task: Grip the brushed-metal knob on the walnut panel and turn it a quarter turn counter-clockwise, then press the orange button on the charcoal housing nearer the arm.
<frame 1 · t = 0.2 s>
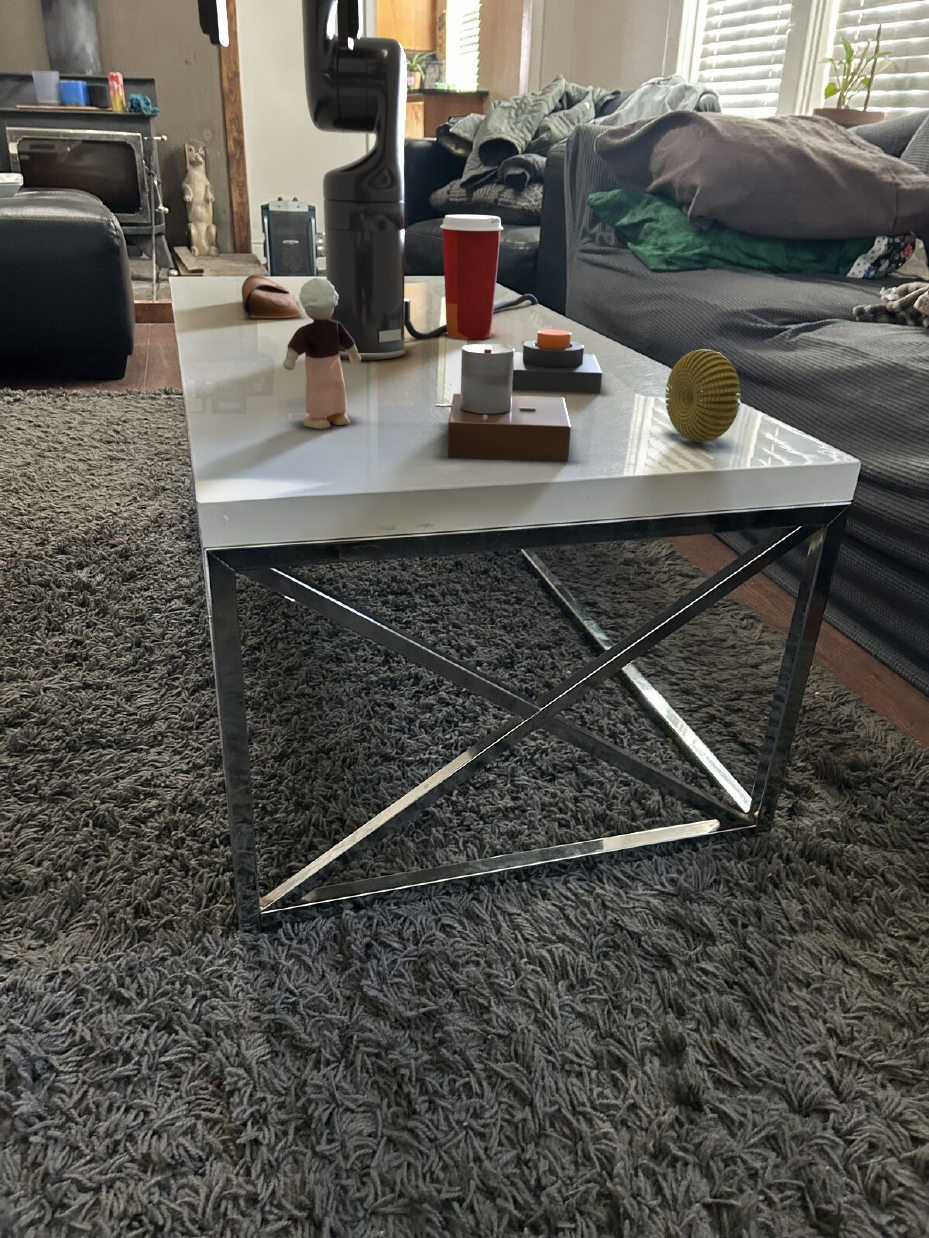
hand: (282, 47, 64), 29 cm above the table, tool pointing down, fingers open, 8 cm apart
coffee cup: (468, 336, 130), on the table
grandmother figurine: (323, 426, 87), on the table
button box: (551, 381, 106), on the table
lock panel: (507, 443, 84), on the table
lock knob: (487, 376, 81), point 6 cm above the table, hinge at 0.0°
sunglasses case: (271, 310, 145), on the table
sculpture: (695, 442, 86), on the table
start button: (553, 340, 104), point 4 cm above the table, slide at 0.1 cm
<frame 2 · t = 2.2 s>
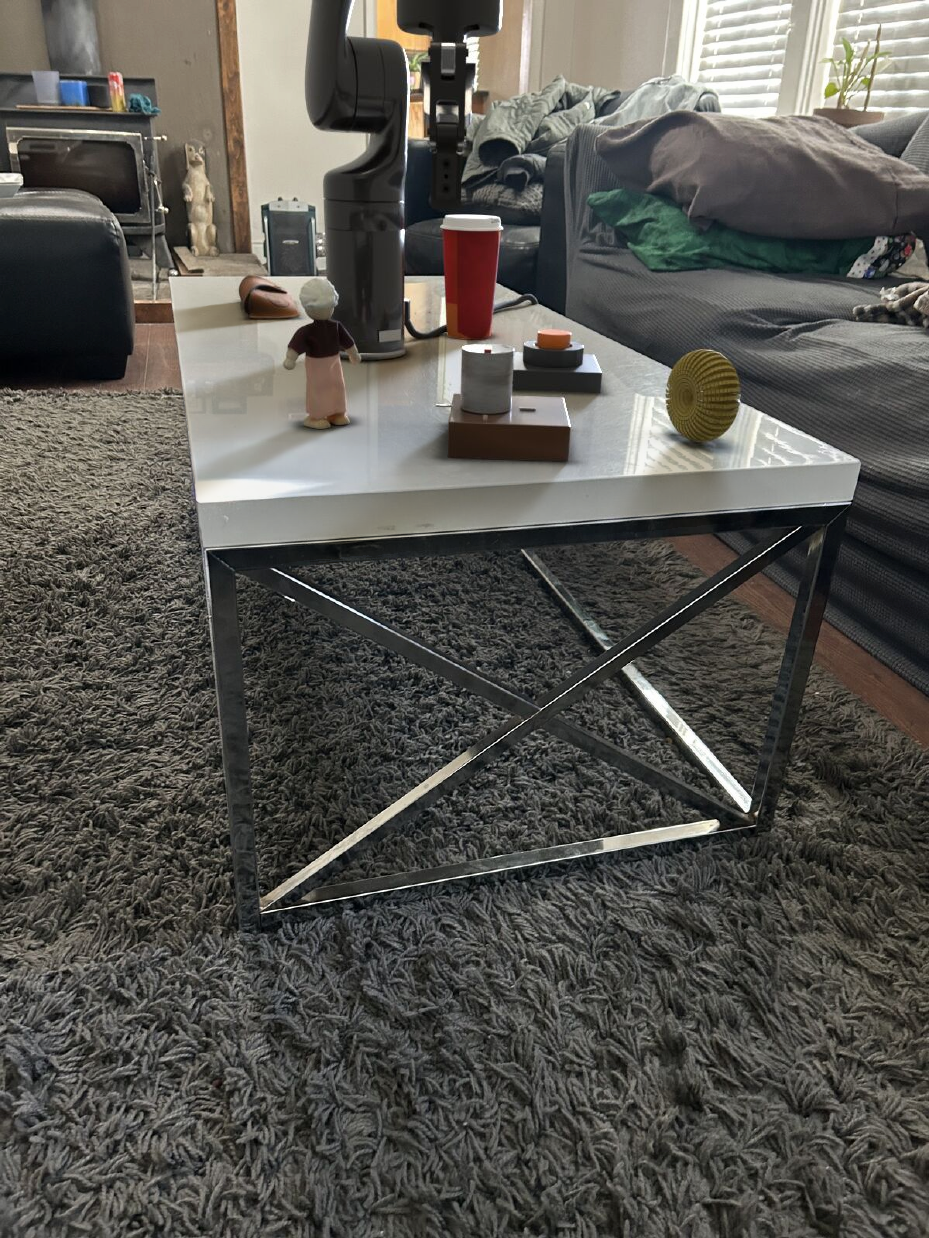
hand: (446, 206, 74), 19 cm above the table, tool pointing down, fingers open, 8 cm apart
nothing on the table moved.
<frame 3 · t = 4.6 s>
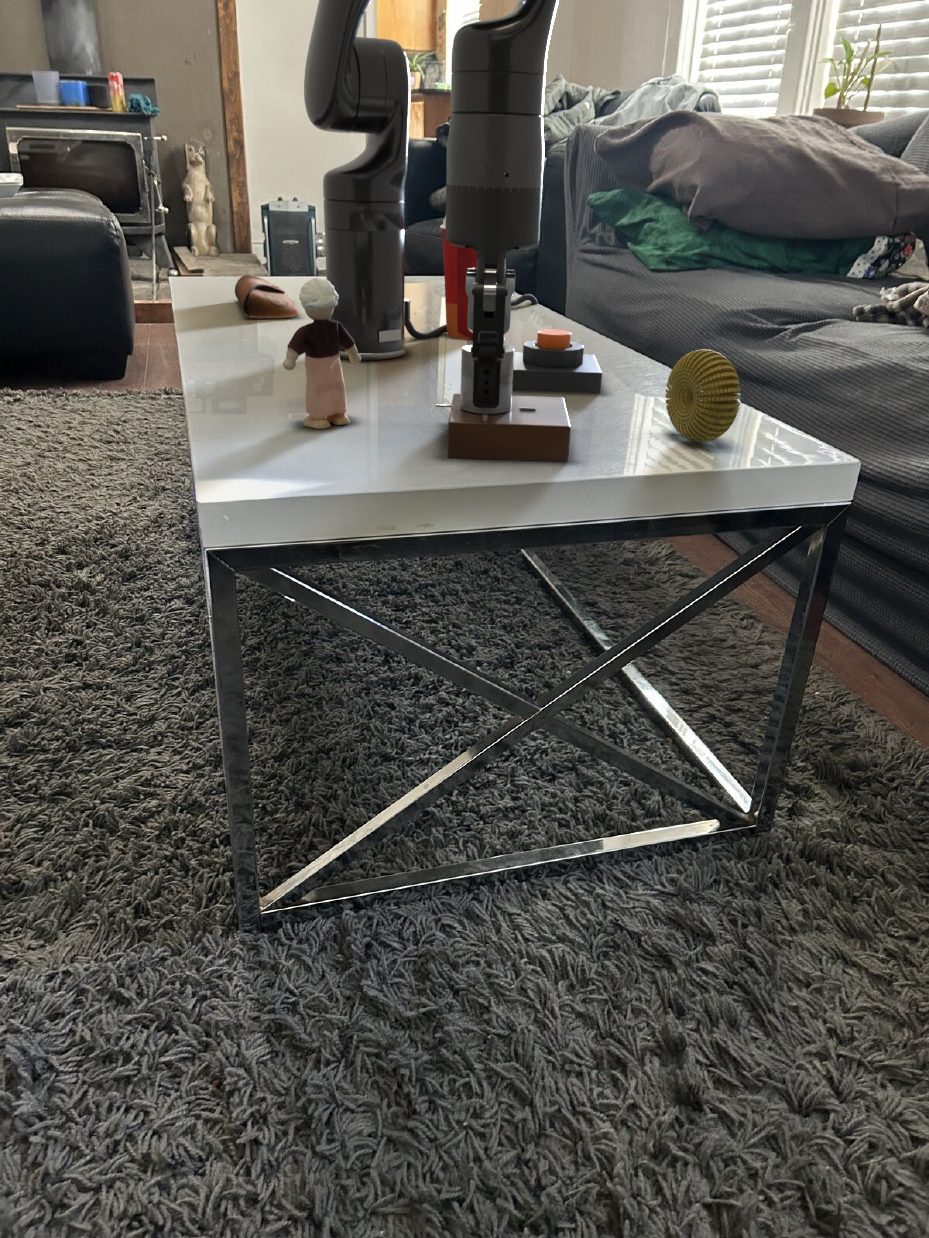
hand: (486, 398, 82), 4 cm above the table, tool pointing down, fingers closed on lock knob, 4 cm apart
lock knob: (487, 376, 81), point 6 cm above the table, hinge at 0.0°, touching gripper
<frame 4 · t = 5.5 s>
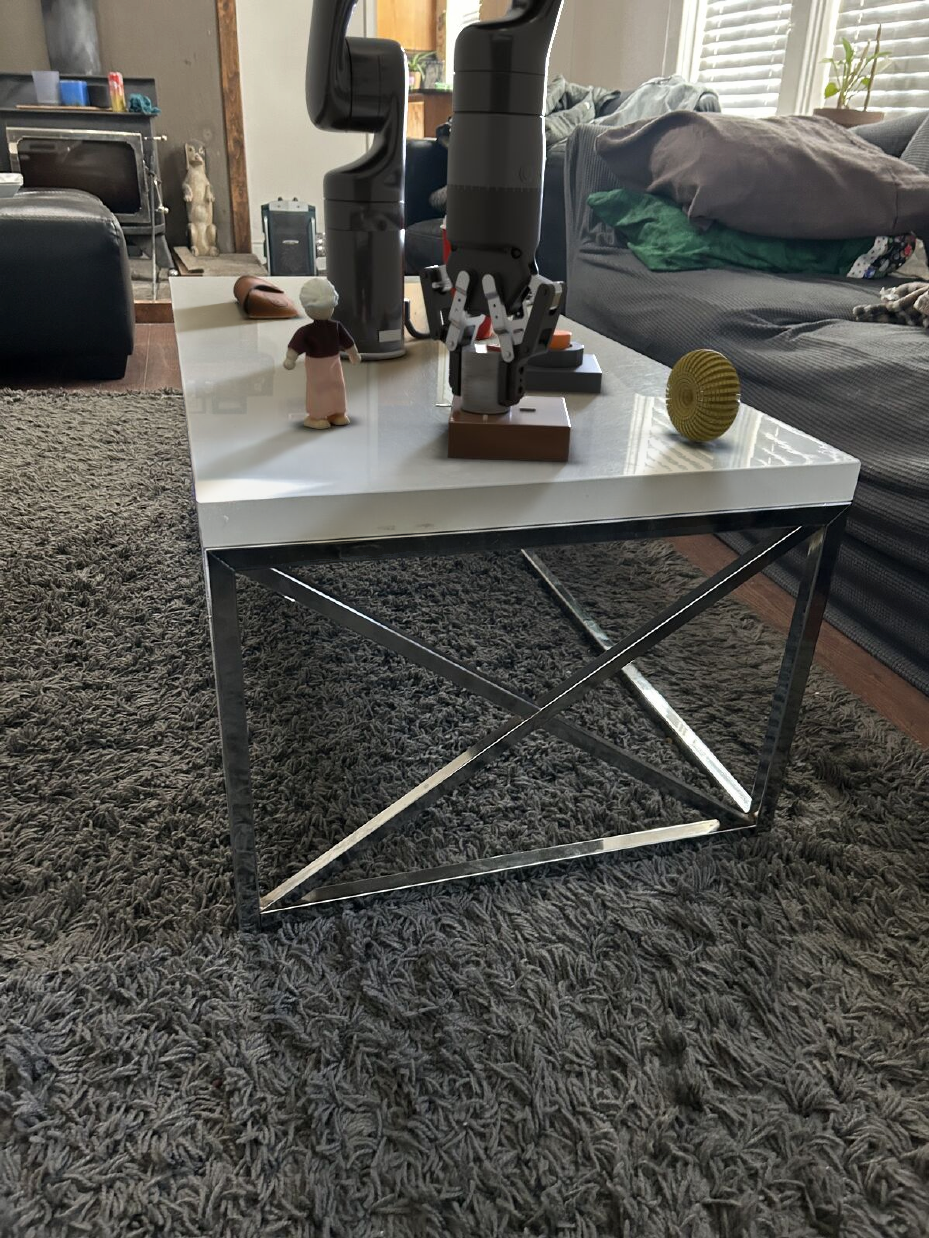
hand: (485, 398, 82), 4 cm above the table, tool pointing down, fingers closed on lock knob, 4 cm apart
lock knob: (487, 376, 81), point 6 cm above the table, hinge at 54.0°, touching gripper
everything else where it was.
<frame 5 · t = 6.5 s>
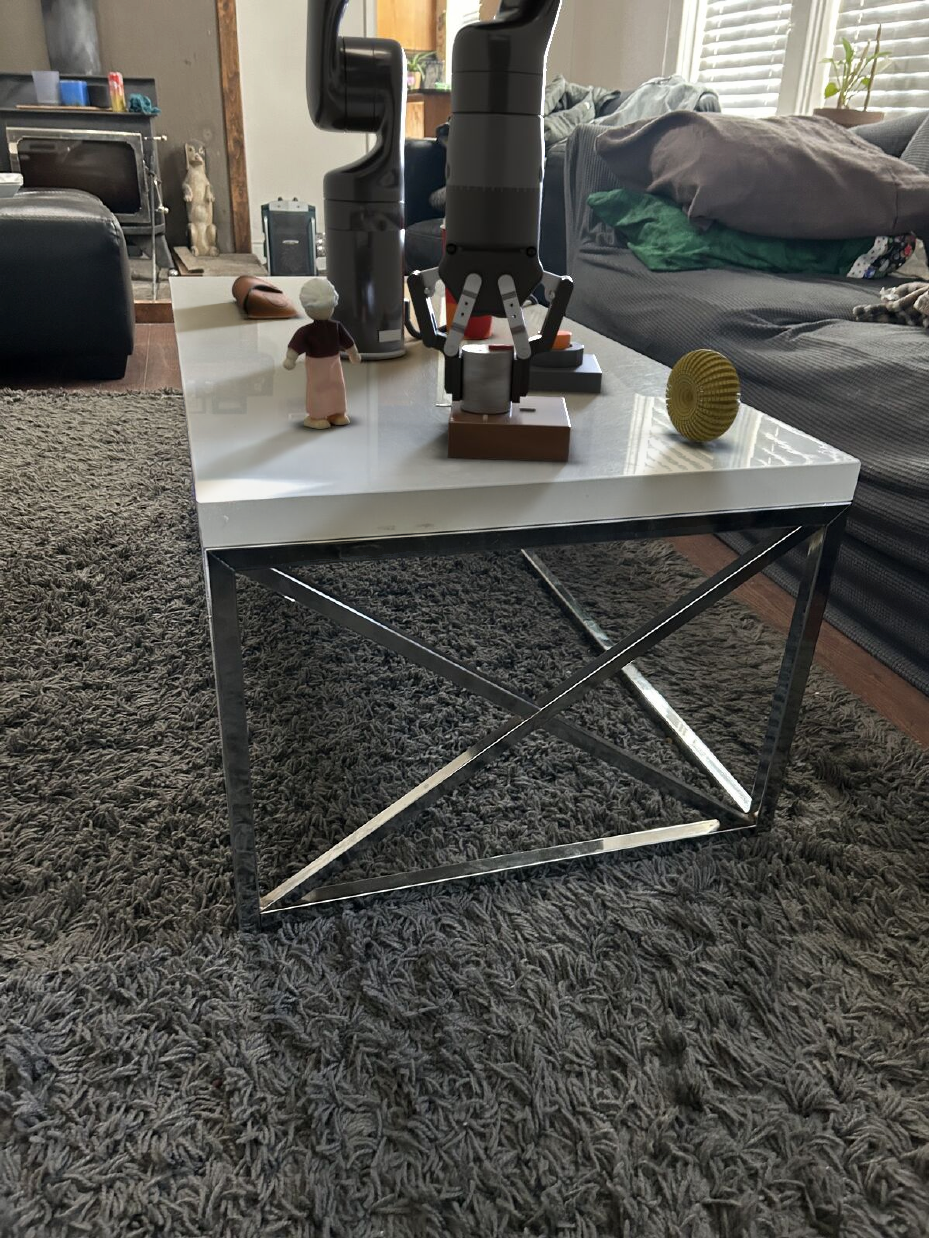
hand: (485, 399, 82), 4 cm above the table, tool pointing down, fingers closed on lock knob, 4 cm apart
lock knob: (487, 376, 81), point 6 cm above the table, hinge at 92.8°, touching gripper
everything else where it was.
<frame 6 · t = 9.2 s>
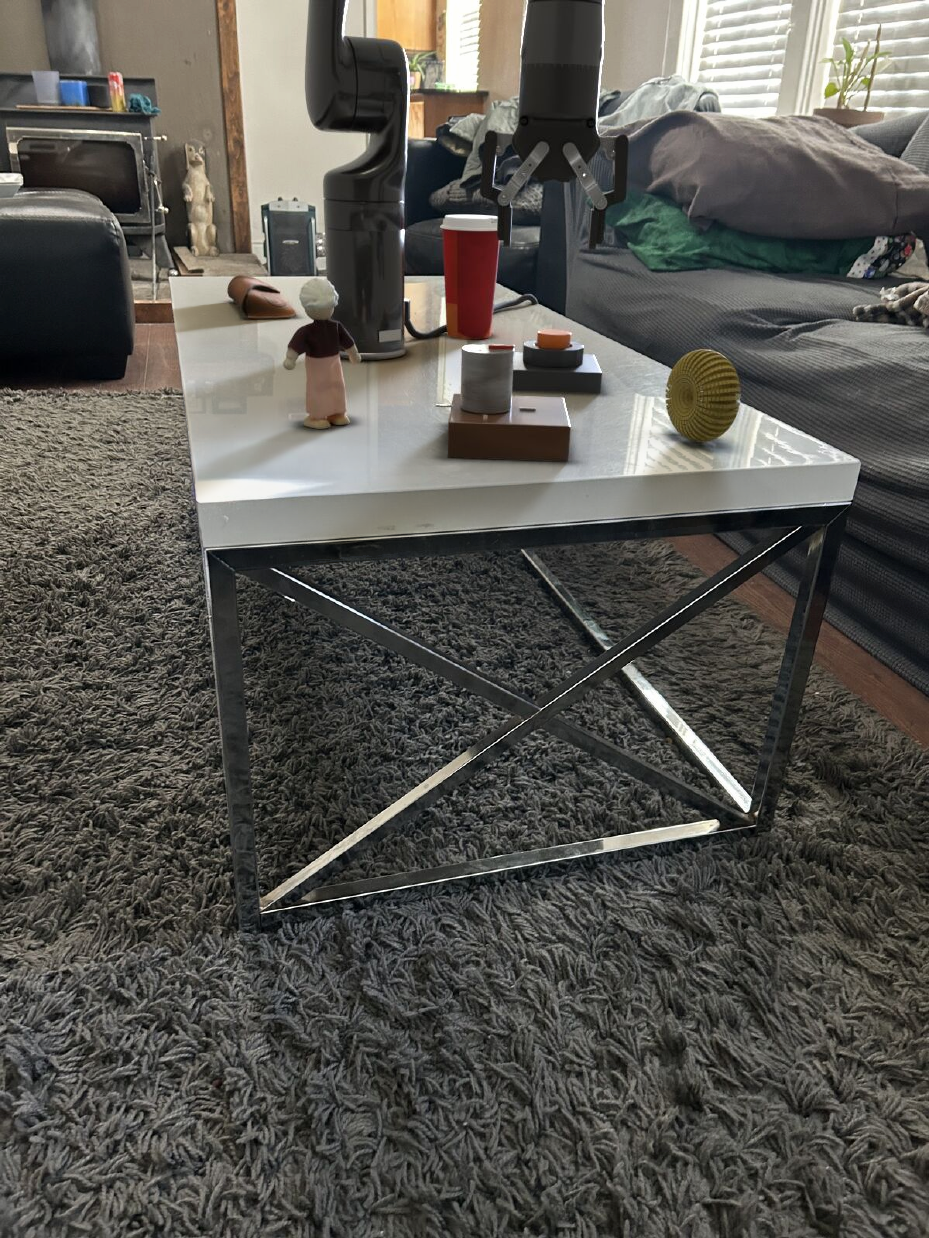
hand: (548, 248, 96), 14 cm above the table, tool pointing down, fingers open, 8 cm apart
lock knob: (487, 376, 81), point 6 cm above the table, hinge at 92.5°
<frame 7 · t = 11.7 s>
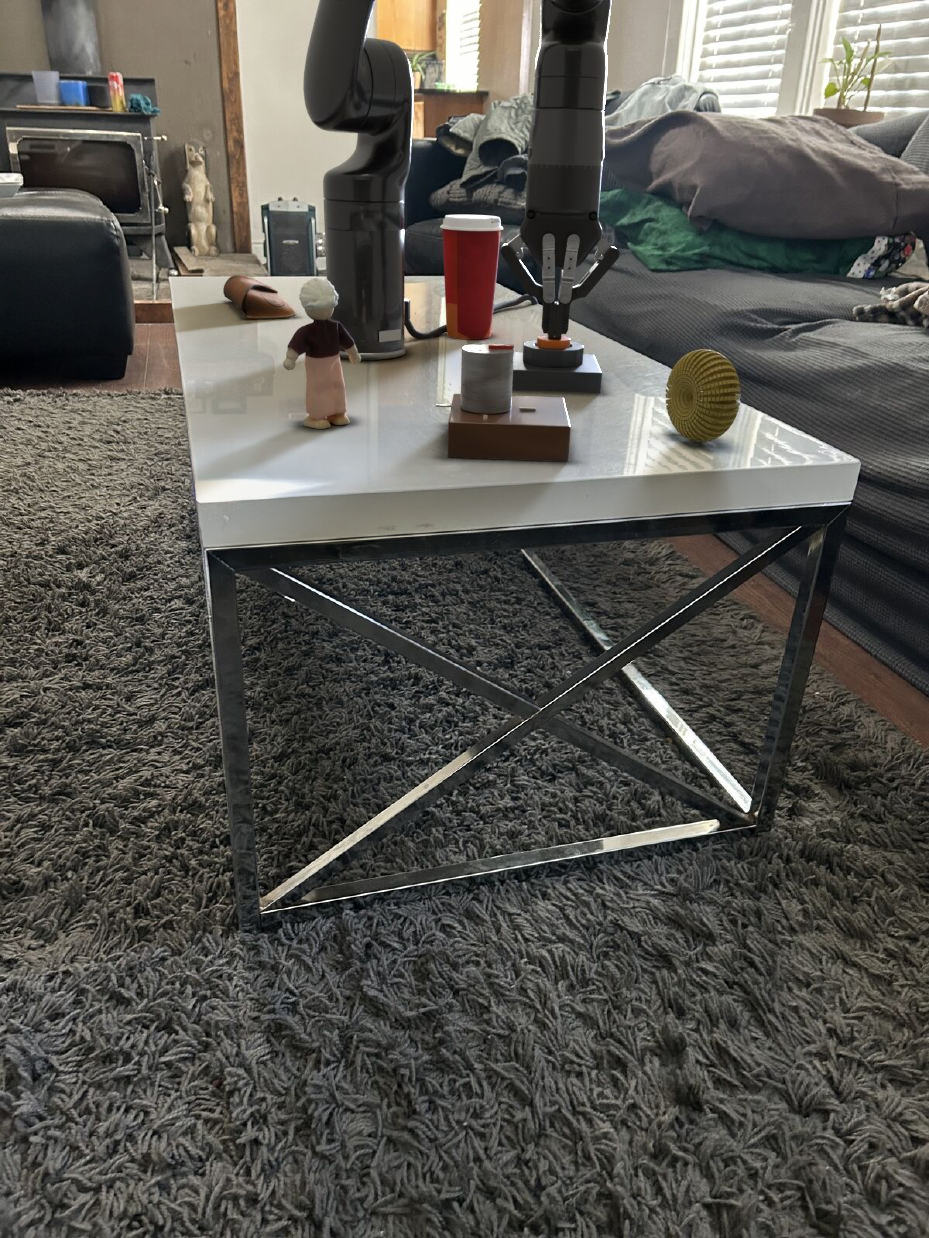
hand: (553, 338, 103), 5 cm above the table, tool pointing down, fingers closed
start button: (553, 346, 104), point 4 cm above the table, slide at -0.5 cm, touching gripper
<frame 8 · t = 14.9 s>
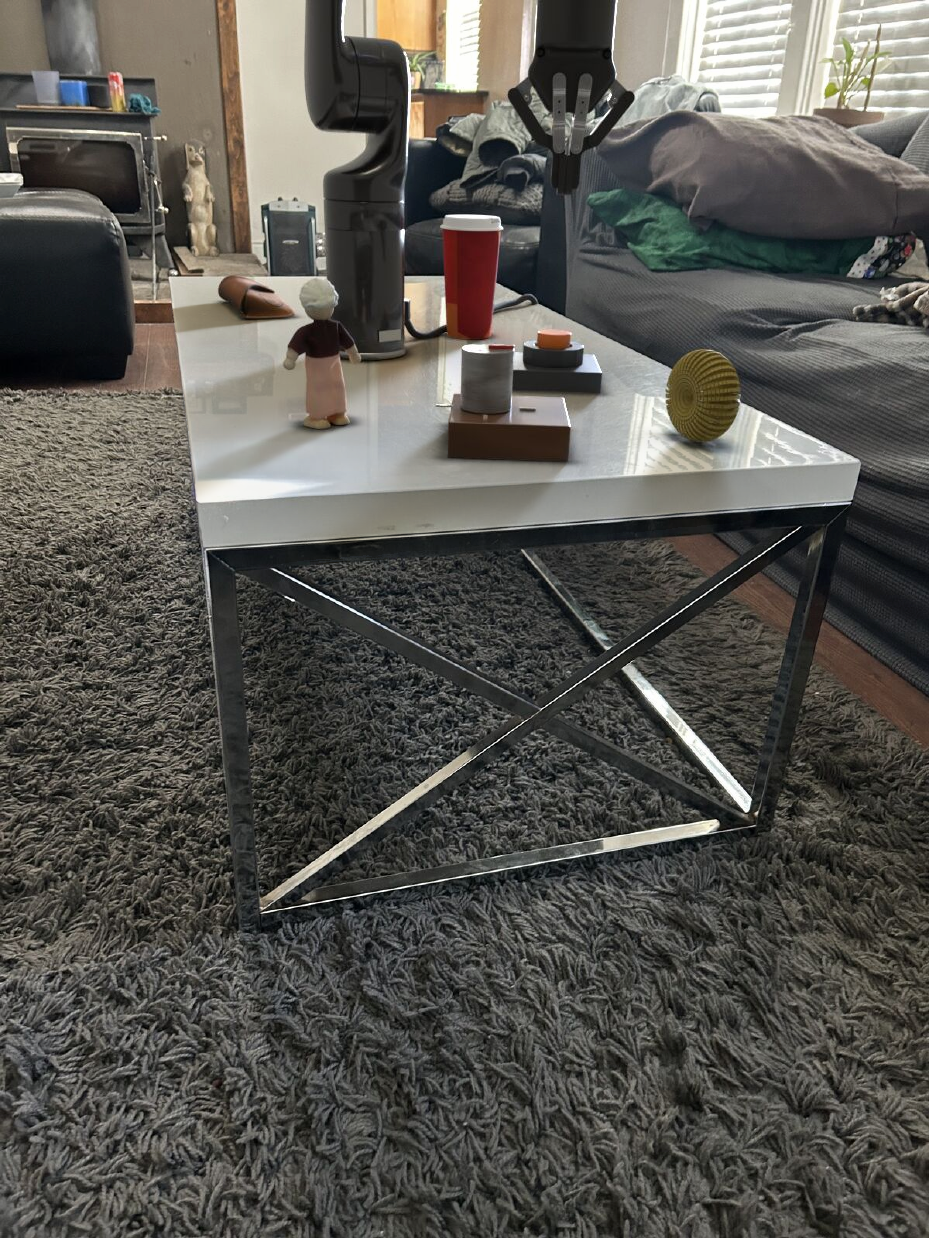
hand: (563, 194, 97), 19 cm above the table, tool pointing down, fingers closed
start button: (553, 340, 104), point 4 cm above the table, slide at 0.1 cm
at the end: lock knob at +92° (first picture: +0°); start button pushed in 1.2 cm at the most during the clip, back to where it started at the end; start button slide at 0.1 cm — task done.
